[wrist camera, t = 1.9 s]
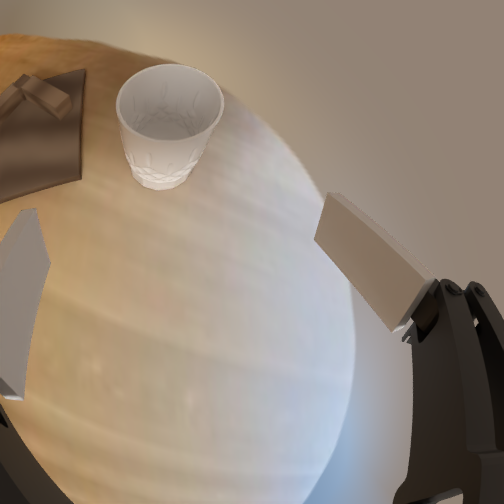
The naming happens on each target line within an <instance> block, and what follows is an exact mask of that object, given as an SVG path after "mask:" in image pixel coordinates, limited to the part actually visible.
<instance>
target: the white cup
mask: <svg viewBox="0 0 504 504" xmlns="http://www.w3.org/2000/svg"><path fill="white" fill-rule="evenodd" d="M223 110H224V97H223V94H222V91H221V89H220V87H219V86H218V84H217V83H216V82H215V81H214V80H213V79H212V78H211V77H210V76H208V75H207V74H206V73H204V72H202V71H200V70H198V69H196V68H193V67H190V66H186V65H181V64H161V65H155V66H152V67H148V68H146V69H143V70H141V71H139V72H138V73H136V74H134V75H133V76H132V77H130V78H129V79H128V80H127V81H126V82H125V83H124V85H123V86H122V87H121V89H120V91H119V93H118V96H117V99H116V112H117V117H118V123H119V128H120V133H121V139H122V143H123V147H124V151H125V154H126V158H127V161H128V163H129V166H130V169H131V172H132V175H133V177H134V178H135V179H136V180H137V181H138V182H139V183H140V184H141V185H142V186H144V187H147V188H151V189H154V190H157V191H159V190H166V189H173V188H175V187H176V186H178V185H179V184H181V183H183V182H184V181H186V179H187V178H188V176H189V175H190V173H191V172H192V170H193V168H194V166H195V165H196V163H197V162H198V160H199V158H200V156H201V155H202V153H203V151H204V149H205V147H206V145H207V143H208V141H209V139H210V137H211V135H212V133H213V131H214V129H215V127H216V126H217V124H218V122H219V120H220V118H221V116H222V114H223Z"/></svg>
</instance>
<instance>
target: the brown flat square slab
mask: <svg viewBox="0 0 504 504" xmlns="http://www.w3.org/2000/svg"><path fill="white" fill-rule="evenodd" d="M84 82H85V69H81V70H77V71H73V72H69V73H65V74H62V75H58V76H55V77H52V78H48V79H45V80H41V79H39V78H37V77H35V76H33V75H32V76H31V77H29V76H27V75H26V74H23V75H22V76H21V77H20V78H19V79H18V80H17V81H16V82H15V83H12V84H11V85H10V86H9V87H8V88H7V89H6V90H5V91H4V92H3V93H2V94H1V95H0V204H1V203H4V202H7V201H9V200H12V199H15V198H18V197H21V196H24V195H27V194H30V193H34V192H37V191H40V190H44V189H47V188H50V187H54V186H57V185H61V184H65V183H69V182H72V181H76V180H80V179H81V117H82V102H83V91H84Z"/></svg>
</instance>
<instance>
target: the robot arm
mask: <svg viewBox="0 0 504 504" xmlns="http://www.w3.org/2000/svg"><path fill="white" fill-rule="evenodd" d="M314 240H315V242H316V243H317V244H318V245H319V246H320V247H321V248H322V250H323V251H324V252H325V253H326V254H327V255H328V256H329V258H330V259H331V260H332V261H333V262H334V263H335V264H336V266H337V267H338V268H339V269H340V270H341V271H342V273H343V274H344V275H345V276H346V277H347V278H348V280H349V281H350V282H351V283H352V284H353V285H354V287H355V288H356V289H357V290H358V292H359V293H360V294H361V295H362V296H363V298H364V299H365V300H366V301H367V303H368V304H369V305H370V306H371V308H372V309H373V310H374V311H375V312H376V314H377V315H378V316H379V317H380V319H381V320H382V321H383V323H384V324H385V325H386V326H387V328H388V329H389V330H390V331H391V332H392V333H393V332H395V331H397V330H400V329H401V328H403V327H404V326H405V324H406V323H407V322H408V320H409V319H410V317H411V318H412V320H413V321H414V322H413V324H412V325H411V326H410V328H409V329H408V330H407V332H406V333H405V334H404V336H403V337H402V342H404V341H405V339H406V338H407V337H408V336H411V337H410V338H409V340H408V341H407V343H409V344H411V345H412V363H413V420H412V421H413V422H412V436H411V448H410V457H409V466H408V473H407V477H406V479H405V481H404V482H403V483H402V485H401V486H400V487H399V488H398V490H397V492H396V493H395V496H394V500H393V504H436V503H437V502H439V501H441V500H444V499H447V498H450V497H453V496H456V495H459V494H462V493H463V504H504V320H503V318H502V316H501V314H500V313H499V311H498V309H497V307H496V306H495V304H494V302H493V301H492V299H491V297H490V296H489V294H488V293H487V291H486V290H485V288H484V287H483V286H482V285H481V284H479V283H476V282H473V281H472V282H470V283H469V285H468V286H467V288H466V289H465V290H462V289H461V288H460V287H459V286H458V285H457V284H455V283H454V282H452V281H451V280H448V279H442V280H441V281H440V282H439V281H438V280H437V279H436V277H435V276H434V275H433V274H432V273H431V272H430V271H429V270H428V269H427V268H426V267H425V266H424V265H423V264H422V263H421V262H420V261H419V260H418V259H417V258H416V257H415V256H414V255H413V254H411V253H410V252H409V251H408V250H407V249H406V248H405V247H404V246H403V245H401V244H400V243H399V242H398V241H397V240H396V239H395V238H394V237H393V236H391V235H390V234H389V233H388V232H387V231H386V230H384V229H383V228H382V227H381V226H380V225H379V224H377V223H376V222H375V221H374V220H373V219H371V218H370V217H369V216H368V215H366V214H365V213H364V212H363V211H362V210H360V209H359V208H358V207H357V206H355V205H354V204H353V203H352V202H350V201H349V200H348V199H346V198H345V197H344V196H343V195H341V194H340V193H327V196H326V200H325V203H324V207H323V210H322V214H321V217H320V221H319V224H318V227H317V231H316V234H315V237H314ZM50 264H51V262H50V259H49V256H48V252H47V249H46V246H45V242H44V239H43V235H42V231H41V228H40V224H39V219H38V215H37V211H36V208H33V209H26V210H21V212H20V213H19V214H18V216H17V217H16V219H15V220H14V222H13V224H12V225H11V227H10V228H9V230H8V231H7V233H6V235H5V236H4V238H3V240H2V241H1V243H0V393H1V394H2V395H3V396H4V397H5V398H6V399H13V400H24V391H25V380H26V371H27V363H28V356H29V349H30V343H31V338H32V333H33V328H34V323H35V318H36V314H37V310H38V306H39V302H40V298H41V294H42V290H43V287H44V283H45V280H46V277H47V274H48V270H49V267H50ZM475 318H477V320H478V322H479V323H478V324H477V326H476V327H475V326H474V322H473V321H474V319H475ZM0 504H74V503H73V502H72V501H71V500H70V499H69V498H68V497H67V496H66V495H65V494H64V493H63V492H62V491H61V490H60V488H59V487H58V486H57V485H56V484H55V483H54V482H53V480H52V479H51V478H50V477H49V476H48V474H47V473H46V472H45V471H44V469H43V468H42V467H41V466H40V464H39V463H38V462H37V460H36V459H35V458H34V456H33V455H32V454H31V452H30V451H29V449H28V448H27V446H26V445H25V443H24V442H23V441H22V439H21V437H20V436H19V434H18V433H17V431H16V430H15V428H14V426H13V425H12V423H11V421H10V420H9V418H8V416H7V414H6V413H5V411H4V409H3V407H2V405H1V404H0Z"/></svg>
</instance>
